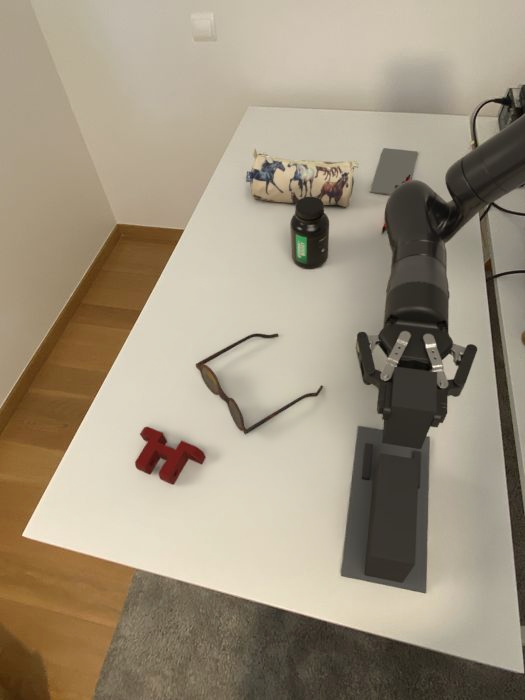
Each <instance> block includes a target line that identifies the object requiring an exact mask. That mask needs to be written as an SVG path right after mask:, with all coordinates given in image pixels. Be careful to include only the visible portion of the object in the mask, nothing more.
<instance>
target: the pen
mask: <svg viewBox="0 0 525 700" xmlns="http://www.w3.org/2000/svg"><path fill="white" fill-rule="evenodd" d="M410 176H411V175H409V176H408V177H407V178H406V179H405V181H404V182H406V181H410ZM385 232H387V231H386V226H385V222H384V223H383V226H382V228H381V235H383V234H384V233H385Z"/></svg>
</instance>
